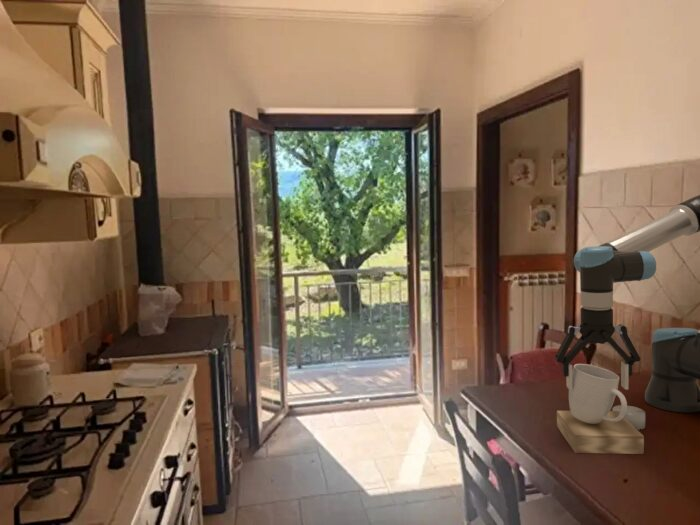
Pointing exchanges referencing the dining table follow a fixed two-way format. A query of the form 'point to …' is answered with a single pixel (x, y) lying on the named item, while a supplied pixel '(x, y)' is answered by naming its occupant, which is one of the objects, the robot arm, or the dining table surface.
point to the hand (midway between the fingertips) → (596, 388)
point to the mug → (594, 394)
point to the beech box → (600, 435)
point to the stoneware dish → (633, 416)
